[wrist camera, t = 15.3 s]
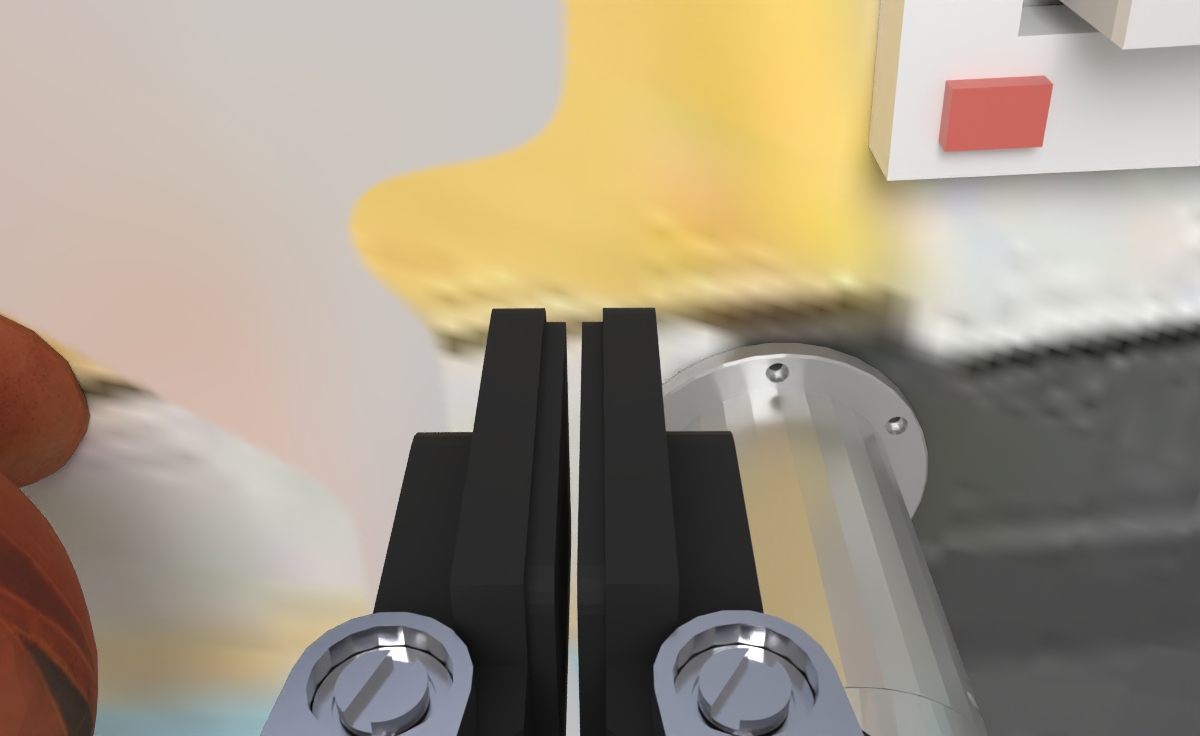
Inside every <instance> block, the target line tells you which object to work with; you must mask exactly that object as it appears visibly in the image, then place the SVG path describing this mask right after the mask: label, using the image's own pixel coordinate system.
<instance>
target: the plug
mask: <svg viewBox="0 0 1200 736" xmlns="http://www.w3.org/2000/svg"><path fill="white" fill-rule="evenodd" d="M1060 1H1061V2H1062V3H1064V4H1065V5H1066V6H1067V7H1069V8H1070V9H1071V10H1073V11H1074V12H1075V13H1076V14H1078V15H1079V16H1080V17H1082V18H1083V19H1084V20H1085V21H1087V22H1088V23H1089V24H1091V25H1092V26H1093V27H1094V28H1096V29H1097V30H1098V31H1100V32H1101V33H1102V34H1103V35H1105V36H1106V37H1107V38H1109V39H1110V40H1111V41H1112V42H1114V43H1115V44H1116V45H1118V46H1119V47H1120V48H1121V49H1140V48H1156V47H1172V46H1188V45H1200V0H1060Z"/></svg>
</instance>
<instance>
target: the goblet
mask: <svg viewBox="0 0 1200 736" xmlns="http://www.w3.org/2000/svg"><path fill="white" fill-rule="evenodd" d="M88 421H89V411H88V407H87V402H86V398H85V396H84V394H83V392H82V390H81V388H80V386H79V384H78V382H77V380H76V378H75V376H74V374H73V372H72V370H71V368H70V366H69V364H68V362H67V361H66V360H65V359H64V358H63V357H61V356H60V355H59V354H58V353H57V352H56V351H55V350H54V349H53V348H51V347H50V346H49V345H48V344H47V343H46V342H45V341H44V340H43V339H41V338H40V337H39V336H38V335H37V334H36V333H35V332H34V331H32V330H30V329H28V328H26V327H24V326H22V325H20V324H18V323H16V322H14V321H11V320H9V319H7V318H5V317H3V316H1V315H0V736H93V734H94V728H95V721H96V712H97V697H98V667H97V649H96V644H95V640H94V635H93V630H92V626H91V621H90V617H89V613H88V609H87V606H86V603H85V599H84V596H83V593H82V589H81V586H80V584H79V581H78V578H77V575H76V572H75V570H74V568H73V565H72V563H71V561H70V559H69V556H68V554H67V552H66V550H65V548H64V546H63V544H62V543H61V541H60V539H59V538H58V536H57V535H56V533H55V531H54V530H53V528H52V526H51V525H50V523H49V522H48V521H47V520H46V518H45V517H44V516H43V515H42V513H41V512H40V511H39V510H38V509H37V507H36V506H35V505H34V504H33V503H32V502H31V501H30V500H29V499H28V498H27V497H26V496H25V495H24V494H23V493H22V492H21V490H20V489H19V487H23V486H26V485H29V484H32V483H35V482H37V481H39V480H41V479H43V478H45V477H47V476H49V475H51V474H53V473H54V472H56V471H57V470H58V469H60V468H61V467H62V466H64V465H65V464H66V462H67V461H68V460H69V458H70V457H71V455H72V454H73V452H74V451H75V449H76V447H77V446H78V444H79V442H80V441H81V439H82V437H83V436H84V434H85V432H86V431H87V426H88Z"/></svg>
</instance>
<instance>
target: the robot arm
mask: <svg viewBox="0 0 1200 736" xmlns="http://www.w3.org/2000/svg"><path fill="white" fill-rule="evenodd" d="M776 363H777V364H776ZM773 364H774V365H773ZM927 478H928V452H927V447H926V443H925V439H924V435H923V431H922V429H921V426H920V424H919V422H918V419H917V417H916V415H915V412H914V410H913V408H912V407H911V405H910V404H909V402H908V401H907V399H906V398H905V397H904V395H903V394H902V392H901V391H900V389H899V388H898V387H897V386H896V385H894V384H893V383H892V382H891V381H890V380H889V379H888V378H887V377H886V376H885V375H883V374H882V373H881V372H880V371H879V370H877V369H875V368H873V367H872V366H870V365H868V364H866V363H865V362H863V361H861V360H860V359H858V358H856V357H853V356H851V355H848V354H845V353H842V352H839V351H836V350H833V349H831V348H827V347H821V346H814V345H808V344H802V343H764V344H758V345H752V346H746V347H740V348H735V349H732V350H729V351H726V352H723V353H720V354H717V355H714V356H711V357H708V358H706V359H704V360H702V361H700V362H698V363H696V364H694V365H692V366H691V367H689V368H687V369H685V370H683V371H681V372H679V373H678V374H677V375H676V376H674V377H673V378H672V379H670V380H669V381H668V382H667V383H665V384H664V385H663V386H662V380H661V369H660V357H659V346H658V335H657V323H656V312H655V308H603V322H582V361H581V410H580V459H579V508H578V559H577V608H578V656H579V702H580V736H988V734H987V731H986V728H985V725H984V722H983V719H982V716H981V713H980V710H979V708H978V705H977V702H976V699H975V697H974V694H973V691H972V688H971V685H970V683H969V680H968V677H967V674H966V672H965V669H964V666H963V663H962V660H961V658H960V655H959V652H958V649H957V647H956V644H955V641H954V638H953V635H952V633H951V630H950V627H949V624H948V622H947V619H946V616H945V613H944V610H943V608H942V605H941V602H940V599H939V597H938V594H937V591H936V588H935V585H934V583H933V580H932V577H931V574H930V572H929V569H928V566H927V563H926V560H925V558H924V555H923V552H922V549H921V547H920V544H919V541H918V538H917V535H916V533H915V530H914V527H913V524H912V521H911V520H912V518H913V516H914V514H915V512H916V510H917V508H918V506H919V505H920V503H921V501H922V497H923V494H924V490H925V486H926V482H927ZM570 567H571V503H570V462H569V422H568V381H567V340H566V322H546V311H545V308H516V309H492V313H491V319H490V325H489V332H488V338H487V345H486V351H485V358H484V364H483V371H482V377H481V384H480V390H479V397H478V403H477V410H476V416H475V422H474V429H473V432H438V433H436V432H433V433H417V434H416V435H415V436H414V439H413V442H412V445H411V450H410V453H409V458H408V462H407V467H406V471H405V475H404V480H403V484H402V489H401V493H400V497H399V502H398V506H397V510H396V515H395V520H394V524H393V528H392V532H391V537H390V541H389V546H388V550H387V554H386V559H385V563H384V567H383V572H382V576H381V581H380V585H379V589H378V594H377V598H376V602H375V607H374V611H373V614H371V615H367V616H362V617H358V618H354V619H351V620H349V621H347V622H345V623H343V624H341V625H339V626H337V627H335V628H333V629H331V630H329V631H327V632H326V633H325V634H323V635H322V636H321V637H320V638H319V639H317V640H316V641H315V642H314V643H312V644H311V645H310V646H309V647H308V648H306V650H305V651H304V653H303V654H302V656H301V657H300V658H299V660H298V661H297V663H296V664H295V666H294V667H293V668H292V670H291V672H290V674H289V676H288V678H287V680H286V683H285V685H284V687H283V689H282V691H281V693H280V695H279V697H278V699H277V701H276V703H275V705H274V707H273V709H272V711H271V713H270V715H269V717H268V720H267V722H266V724H265V726H264V728H263V730H262V732H261V734H260V736H566V712H567V711H566V710H567V675H568V674H567V673H568V639H569V603H570Z"/></svg>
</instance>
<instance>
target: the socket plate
mask: <svg viewBox="0 0 1200 736" xmlns="http://www.w3.org/2000/svg"><path fill="white" fill-rule="evenodd" d="M1022 6H1023V0H881V4H880V16H879V28H878V39H877V51H876V63H875V74H874V86H873V98H872V109H871V121H870V133H869V145H868V146H869V148H870V150H871V151H872V153H873V155H874V157H875V159H876V161H877V163H878V164H879V166H880V168H881V170H882V172H883V174H884V176H885V178H886V179H887V181H895V180H916V179H936V178H957V177H978V176H999V175H1019V174H1040V173H1061V172H1081V171H1102V170H1123V169H1144V168H1164V167H1185V166H1200V45H1188V46H1172V47H1156V48H1140V49H1121V48H1120V47H1119V46H1118V45H1116V44H1115V43H1114V42H1112V41H1111V40H1110V39H1109V38H1107V37H1106V36H1105V35H1103V34H1102V33H1101V32H1100V31H1098V30H1097V29H1096V28H1094V27H1093V26H1092V25H1091V24H1089V23H1088V22H1087V21H1085V20H1084V19H1083V18H1082V17H1080V16H1079V15H1078V14H1076V13H1075V12H1074V11H1073V10H1071V9H1070V8H1069V7H1067V6H1066V5H1052V6H1032V7H1022Z"/></svg>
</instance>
